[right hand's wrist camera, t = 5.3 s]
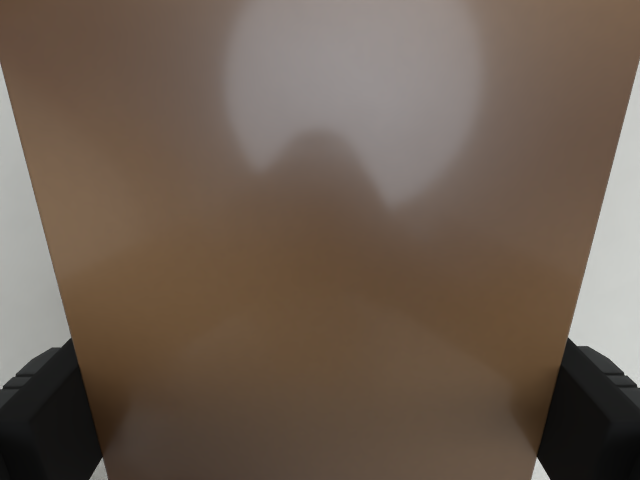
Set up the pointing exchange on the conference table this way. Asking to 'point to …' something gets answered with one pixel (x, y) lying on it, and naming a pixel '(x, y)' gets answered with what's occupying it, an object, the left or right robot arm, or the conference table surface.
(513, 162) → the cabinet
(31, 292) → the conference table surface
